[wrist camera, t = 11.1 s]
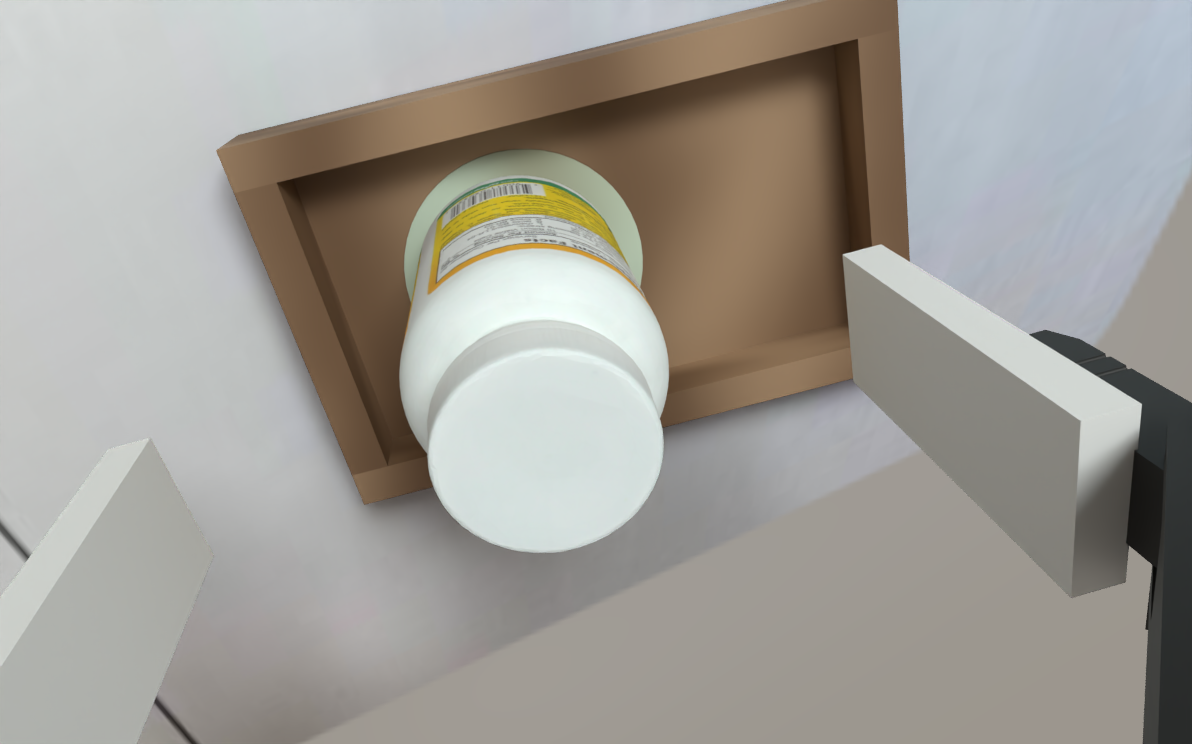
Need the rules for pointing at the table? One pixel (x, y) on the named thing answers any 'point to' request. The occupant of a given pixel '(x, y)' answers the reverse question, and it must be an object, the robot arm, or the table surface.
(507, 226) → the supplement bottle
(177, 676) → the table surface
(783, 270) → the tray
